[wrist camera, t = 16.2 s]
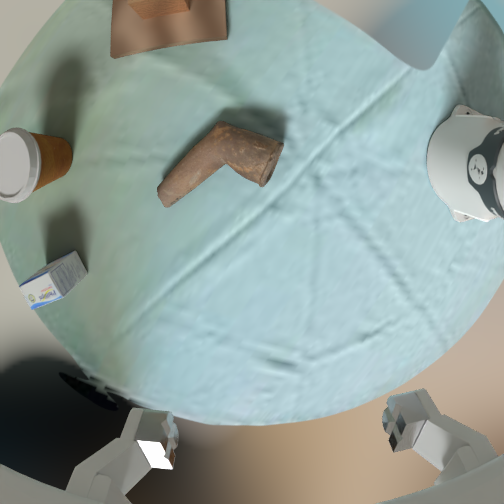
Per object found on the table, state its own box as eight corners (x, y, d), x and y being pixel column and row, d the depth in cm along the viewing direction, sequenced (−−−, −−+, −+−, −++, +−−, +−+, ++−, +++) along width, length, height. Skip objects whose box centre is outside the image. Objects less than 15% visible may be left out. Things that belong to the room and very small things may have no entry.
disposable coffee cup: (89, 173, 40) (42, 185, 29) (45, 197, 41) (-3, 216, 29) (71, 116, 37) (21, 113, 25) (28, 144, 38) (-22, 151, 26)
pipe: (138, 189, 36) (190, 249, 37) (239, 93, 33) (297, 156, 34) (158, 187, 43) (204, 240, 44) (246, 106, 39) (296, 160, 40)
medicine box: (76, 249, 44) (48, 270, 36) (89, 274, 45) (63, 298, 37) (46, 264, 45) (17, 286, 36) (57, 287, 46) (31, 311, 38)
